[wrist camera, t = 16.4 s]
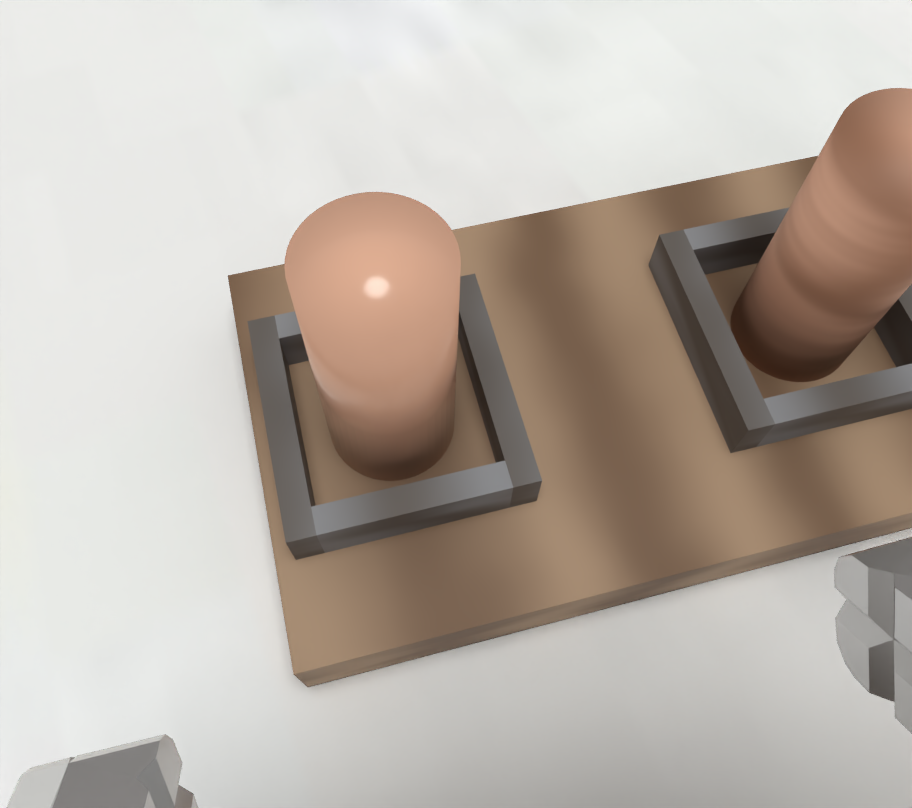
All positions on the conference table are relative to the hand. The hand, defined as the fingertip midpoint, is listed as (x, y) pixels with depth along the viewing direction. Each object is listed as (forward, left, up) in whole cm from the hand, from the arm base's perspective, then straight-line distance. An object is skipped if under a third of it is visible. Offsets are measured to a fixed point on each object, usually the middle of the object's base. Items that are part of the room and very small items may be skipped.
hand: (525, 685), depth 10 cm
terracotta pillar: (0, -12, -17) cm, 21 cm away
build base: (-8, -12, -20) cm, 25 cm away
